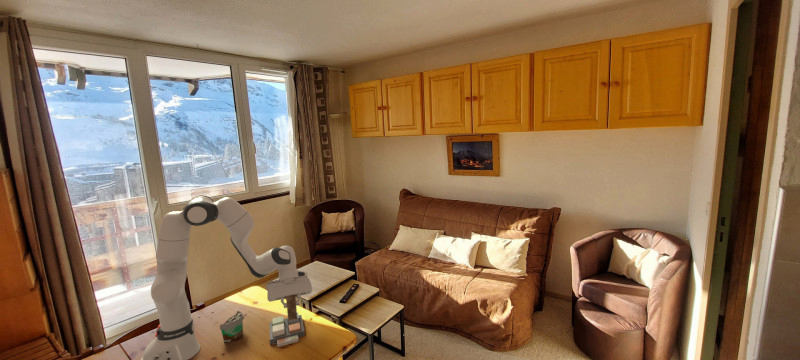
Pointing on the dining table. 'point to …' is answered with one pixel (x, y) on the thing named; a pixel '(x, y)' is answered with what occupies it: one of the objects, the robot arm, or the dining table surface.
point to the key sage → (277, 320)
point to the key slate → (294, 320)
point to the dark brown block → (291, 307)
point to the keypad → (286, 334)
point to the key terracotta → (294, 327)
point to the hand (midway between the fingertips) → (291, 306)
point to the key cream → (278, 330)
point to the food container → (233, 328)
